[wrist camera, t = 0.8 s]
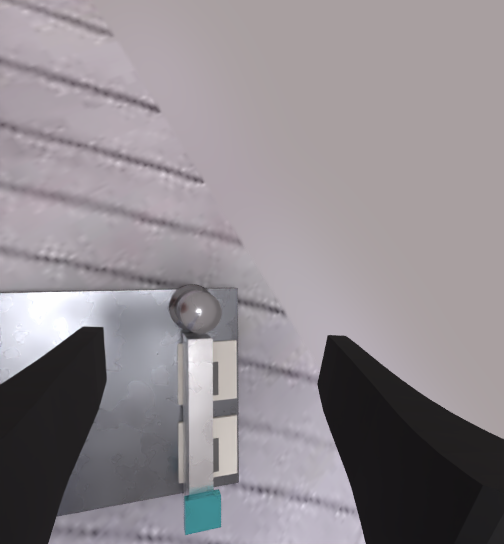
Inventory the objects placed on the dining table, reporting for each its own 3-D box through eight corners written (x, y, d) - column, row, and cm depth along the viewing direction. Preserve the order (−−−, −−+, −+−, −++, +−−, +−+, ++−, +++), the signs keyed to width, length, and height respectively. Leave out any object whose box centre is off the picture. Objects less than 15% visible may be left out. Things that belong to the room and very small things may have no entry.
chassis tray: (235, 476, 34) (238, 482, 33) (-94, 536, 27) (-102, 545, 26) (234, 287, 34) (237, 288, 33) (-96, 294, 27) (-105, 295, 26)
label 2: (236, 471, 33) (237, 473, 33) (178, 481, 31) (179, 484, 31) (236, 414, 33) (237, 416, 33) (178, 421, 31) (178, 423, 31)
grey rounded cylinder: (214, 328, 32) (227, 337, 28) (168, 330, 31) (175, 340, 27) (213, 284, 32) (226, 286, 28) (168, 284, 31) (174, 287, 27)
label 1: (235, 397, 33) (237, 398, 33) (178, 403, 31) (178, 405, 31) (235, 339, 33) (236, 340, 33) (177, 343, 31) (178, 344, 31)
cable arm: (177, 333, 31) (184, 341, 27) (209, 331, 31) (219, 339, 28) (178, 505, 31) (185, 537, 27) (210, 499, 32) (221, 529, 28)
